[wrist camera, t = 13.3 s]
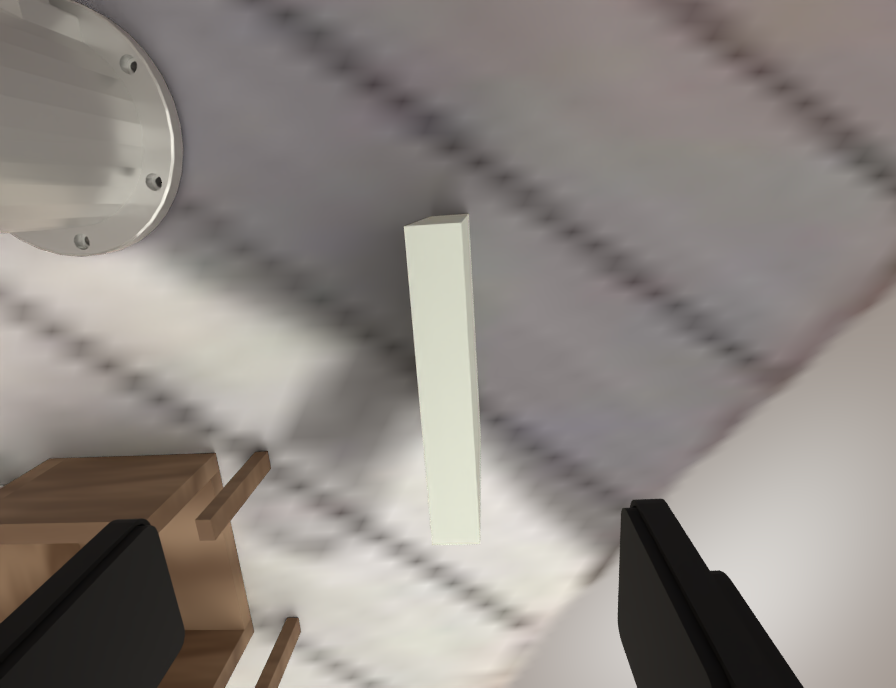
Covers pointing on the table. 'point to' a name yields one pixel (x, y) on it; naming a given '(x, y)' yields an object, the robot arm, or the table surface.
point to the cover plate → (446, 373)
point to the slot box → (182, 538)
